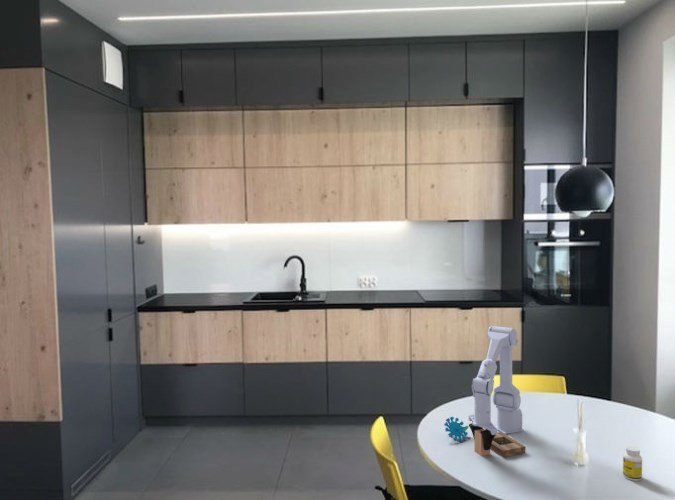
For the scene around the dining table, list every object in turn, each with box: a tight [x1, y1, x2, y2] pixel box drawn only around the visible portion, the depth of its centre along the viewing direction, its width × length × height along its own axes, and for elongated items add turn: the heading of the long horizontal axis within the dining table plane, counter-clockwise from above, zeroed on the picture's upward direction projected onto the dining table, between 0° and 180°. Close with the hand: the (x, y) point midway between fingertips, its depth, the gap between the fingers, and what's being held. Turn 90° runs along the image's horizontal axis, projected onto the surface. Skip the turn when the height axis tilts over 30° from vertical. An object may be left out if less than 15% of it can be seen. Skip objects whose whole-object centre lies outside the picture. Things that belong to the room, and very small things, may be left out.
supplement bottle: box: [622, 445, 643, 482], centre depth 166 cm, size 5×5×10 cm
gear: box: [443, 416, 469, 443], centre depth 200 cm, size 11×6×10 cm
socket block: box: [490, 431, 527, 459], centre depth 190 cm, size 10×14×2 cm
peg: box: [474, 428, 491, 457], centre depth 185 cm, size 4×4×8 cm
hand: (482, 446), depth 185 cm, fingers open, 5 cm apart
